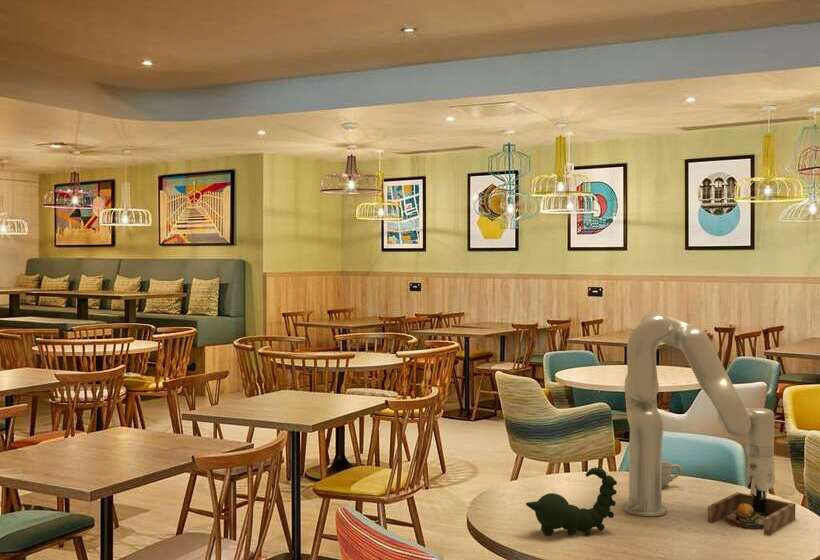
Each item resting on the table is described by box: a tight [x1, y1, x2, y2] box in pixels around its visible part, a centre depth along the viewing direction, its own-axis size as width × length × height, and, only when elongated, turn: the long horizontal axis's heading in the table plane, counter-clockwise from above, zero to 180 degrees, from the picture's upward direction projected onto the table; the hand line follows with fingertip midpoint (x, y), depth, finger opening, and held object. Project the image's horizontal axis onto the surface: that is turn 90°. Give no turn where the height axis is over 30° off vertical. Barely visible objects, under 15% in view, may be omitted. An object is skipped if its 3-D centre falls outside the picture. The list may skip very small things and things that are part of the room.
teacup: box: [662, 460, 683, 488], centre depth 285 cm, size 14×11×8 cm
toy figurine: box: [525, 467, 618, 537], centre depth 237 cm, size 10×19×26 cm
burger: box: [725, 501, 767, 530], centre depth 246 cm, size 12×12×8 cm
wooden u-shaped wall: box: [707, 491, 796, 536], centre depth 248 cm, size 20×17×4 cm
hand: (759, 511), depth 252 cm, fingers closed
